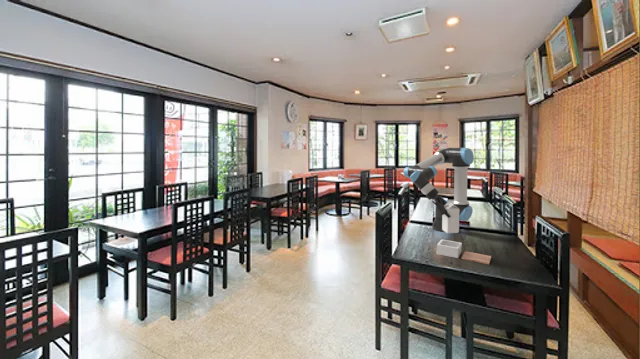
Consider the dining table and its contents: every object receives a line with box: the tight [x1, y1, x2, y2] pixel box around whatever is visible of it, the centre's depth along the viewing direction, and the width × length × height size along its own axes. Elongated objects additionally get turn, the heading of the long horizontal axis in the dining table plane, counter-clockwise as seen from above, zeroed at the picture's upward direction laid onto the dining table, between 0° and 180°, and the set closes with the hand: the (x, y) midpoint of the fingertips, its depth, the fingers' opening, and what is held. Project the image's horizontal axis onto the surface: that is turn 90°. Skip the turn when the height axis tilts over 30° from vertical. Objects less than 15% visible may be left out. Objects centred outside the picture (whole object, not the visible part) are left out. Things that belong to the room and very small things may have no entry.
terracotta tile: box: [461, 251, 492, 265], centre depth 168 cm, size 12×14×1 cm
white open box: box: [436, 239, 463, 259], centre depth 176 cm, size 12×12×6 cm
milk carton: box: [442, 199, 460, 234], centre depth 174 cm, size 7×7×19 cm
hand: (455, 219), depth 172 cm, fingers closed on milk carton, 10 cm apart
